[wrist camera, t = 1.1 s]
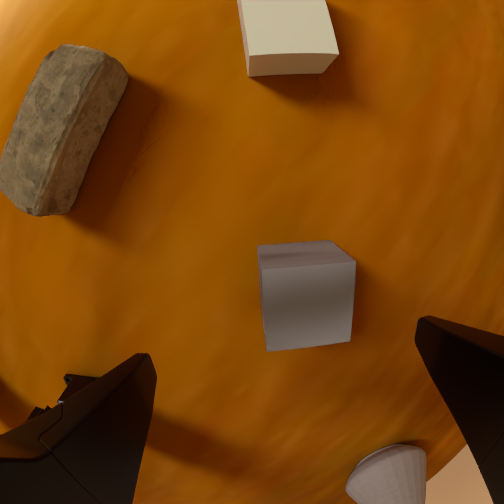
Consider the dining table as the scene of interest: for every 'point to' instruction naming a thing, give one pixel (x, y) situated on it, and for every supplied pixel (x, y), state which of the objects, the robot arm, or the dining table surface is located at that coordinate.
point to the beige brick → (287, 36)
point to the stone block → (60, 128)
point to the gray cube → (306, 294)
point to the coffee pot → (390, 476)
